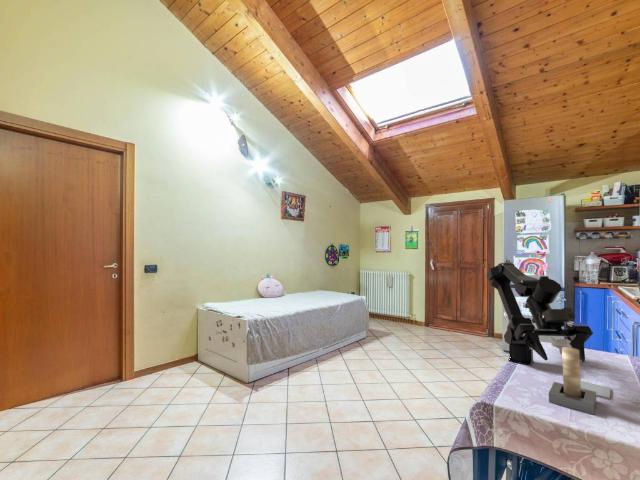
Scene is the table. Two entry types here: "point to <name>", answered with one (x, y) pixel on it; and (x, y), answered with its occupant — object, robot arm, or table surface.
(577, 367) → the peg
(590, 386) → the mat
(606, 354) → the table surface
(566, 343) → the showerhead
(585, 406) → the eye block
